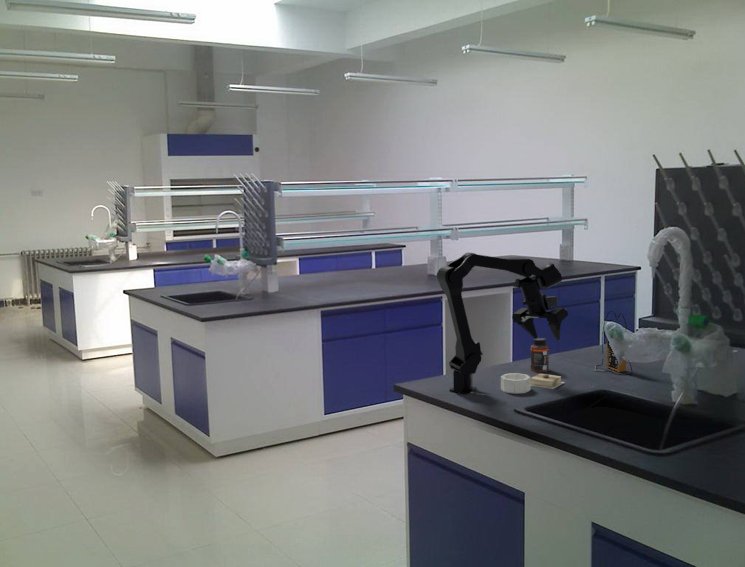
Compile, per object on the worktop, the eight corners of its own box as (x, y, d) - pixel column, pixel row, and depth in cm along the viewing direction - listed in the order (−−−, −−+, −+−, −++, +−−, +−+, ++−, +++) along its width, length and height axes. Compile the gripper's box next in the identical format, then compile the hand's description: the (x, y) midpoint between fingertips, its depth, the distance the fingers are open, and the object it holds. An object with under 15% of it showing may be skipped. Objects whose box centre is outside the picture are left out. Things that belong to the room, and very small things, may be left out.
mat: (553, 390, 224) (553, 388, 224) (526, 386, 230) (526, 384, 230) (564, 383, 231) (564, 382, 231) (538, 380, 237) (538, 378, 237)
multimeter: (581, 367, 251) (582, 310, 249) (606, 365, 254) (607, 308, 251) (607, 377, 237) (608, 317, 235) (633, 374, 240) (634, 315, 238)
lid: (551, 387, 225) (551, 379, 225) (530, 384, 230) (530, 376, 229) (561, 382, 231) (561, 374, 231) (540, 379, 235) (540, 371, 235)
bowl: (521, 396, 219) (521, 381, 218) (496, 392, 224) (496, 377, 224) (534, 389, 226) (534, 375, 225) (509, 385, 231) (509, 372, 230)
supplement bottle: (550, 373, 245) (550, 340, 243) (532, 373, 245) (532, 340, 243) (546, 369, 251) (546, 336, 249) (529, 369, 251) (529, 337, 249)
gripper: (571, 283, 228) (585, 328, 231) (525, 285, 243) (539, 327, 246) (549, 298, 221) (564, 344, 225) (504, 299, 237) (519, 342, 240)
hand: (547, 339), depth 234 cm, fingers open, 9 cm apart
